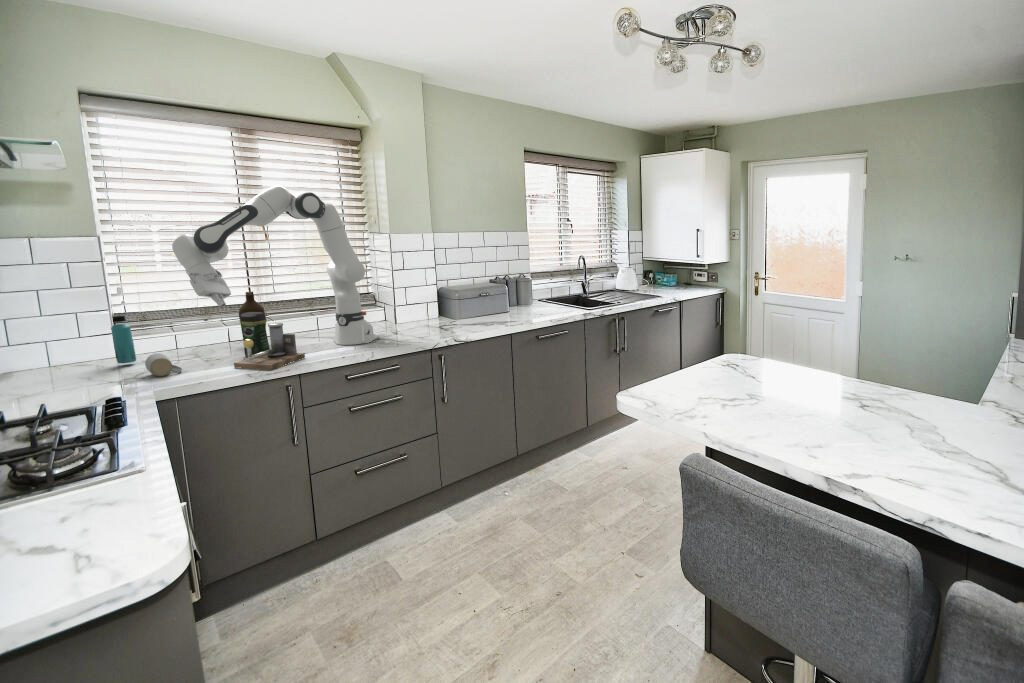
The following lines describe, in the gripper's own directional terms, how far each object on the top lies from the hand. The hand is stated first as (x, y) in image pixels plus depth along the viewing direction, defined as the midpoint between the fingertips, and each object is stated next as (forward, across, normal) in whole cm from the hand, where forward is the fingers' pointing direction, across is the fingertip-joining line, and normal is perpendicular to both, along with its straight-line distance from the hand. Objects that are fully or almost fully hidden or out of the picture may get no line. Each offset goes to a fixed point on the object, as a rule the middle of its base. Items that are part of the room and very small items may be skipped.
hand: (222, 305), depth 205 cm
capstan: (+26, +3, -2) cm, 26 cm away
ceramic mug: (+13, -7, +29) cm, 32 cm away
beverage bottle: (-2, +8, +48) cm, 49 cm away
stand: (+27, +6, -1) cm, 28 cm away
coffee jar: (+20, +20, +7) cm, 29 cm away
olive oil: (+13, +38, +13) cm, 42 cm away
